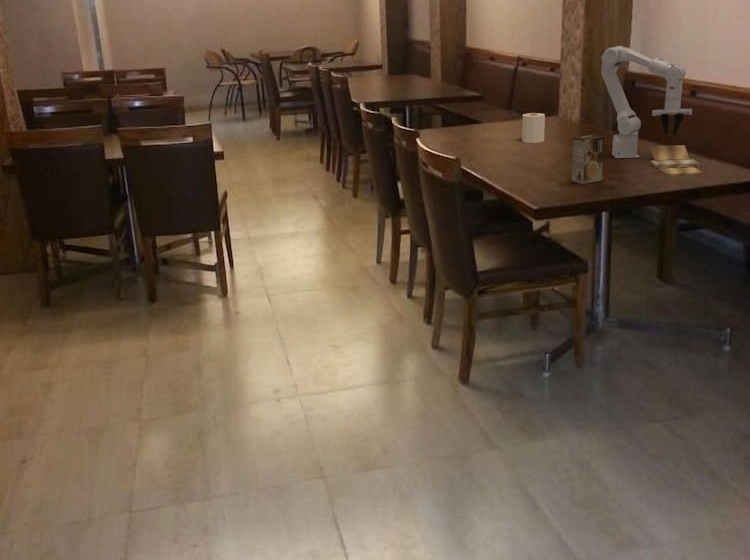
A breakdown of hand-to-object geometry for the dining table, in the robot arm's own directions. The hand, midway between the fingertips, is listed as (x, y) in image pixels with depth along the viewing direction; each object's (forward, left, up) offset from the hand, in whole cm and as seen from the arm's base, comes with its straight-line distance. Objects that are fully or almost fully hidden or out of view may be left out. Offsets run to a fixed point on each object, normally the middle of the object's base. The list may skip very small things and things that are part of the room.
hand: (670, 133), depth 300 cm
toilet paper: (-47, +49, -11) cm, 69 cm away
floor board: (-1, -11, -10) cm, 15 cm away
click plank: (0, -2, -8) cm, 8 cm away
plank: (-2, -22, -11) cm, 24 cm away
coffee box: (-38, -31, -11) cm, 49 cm away
